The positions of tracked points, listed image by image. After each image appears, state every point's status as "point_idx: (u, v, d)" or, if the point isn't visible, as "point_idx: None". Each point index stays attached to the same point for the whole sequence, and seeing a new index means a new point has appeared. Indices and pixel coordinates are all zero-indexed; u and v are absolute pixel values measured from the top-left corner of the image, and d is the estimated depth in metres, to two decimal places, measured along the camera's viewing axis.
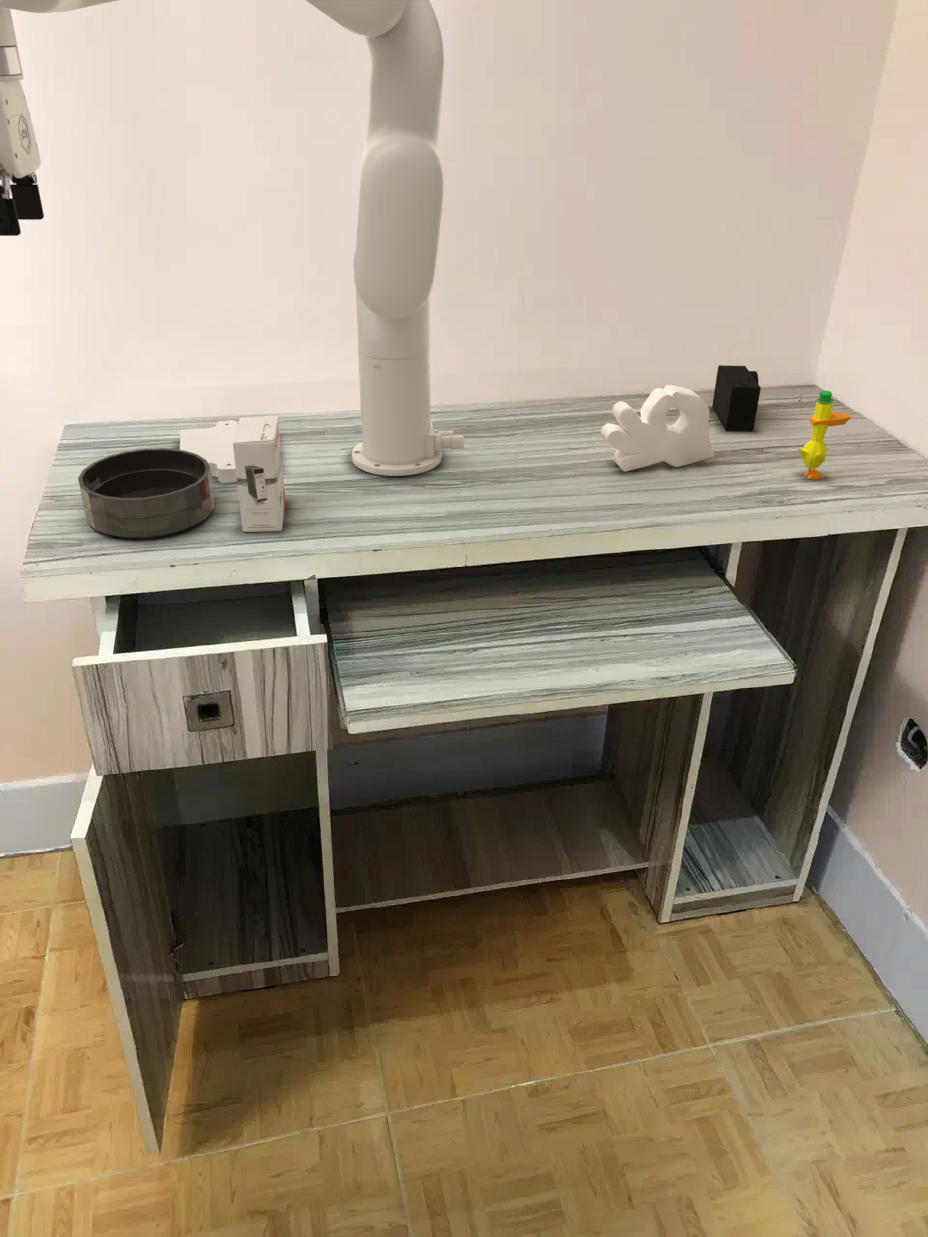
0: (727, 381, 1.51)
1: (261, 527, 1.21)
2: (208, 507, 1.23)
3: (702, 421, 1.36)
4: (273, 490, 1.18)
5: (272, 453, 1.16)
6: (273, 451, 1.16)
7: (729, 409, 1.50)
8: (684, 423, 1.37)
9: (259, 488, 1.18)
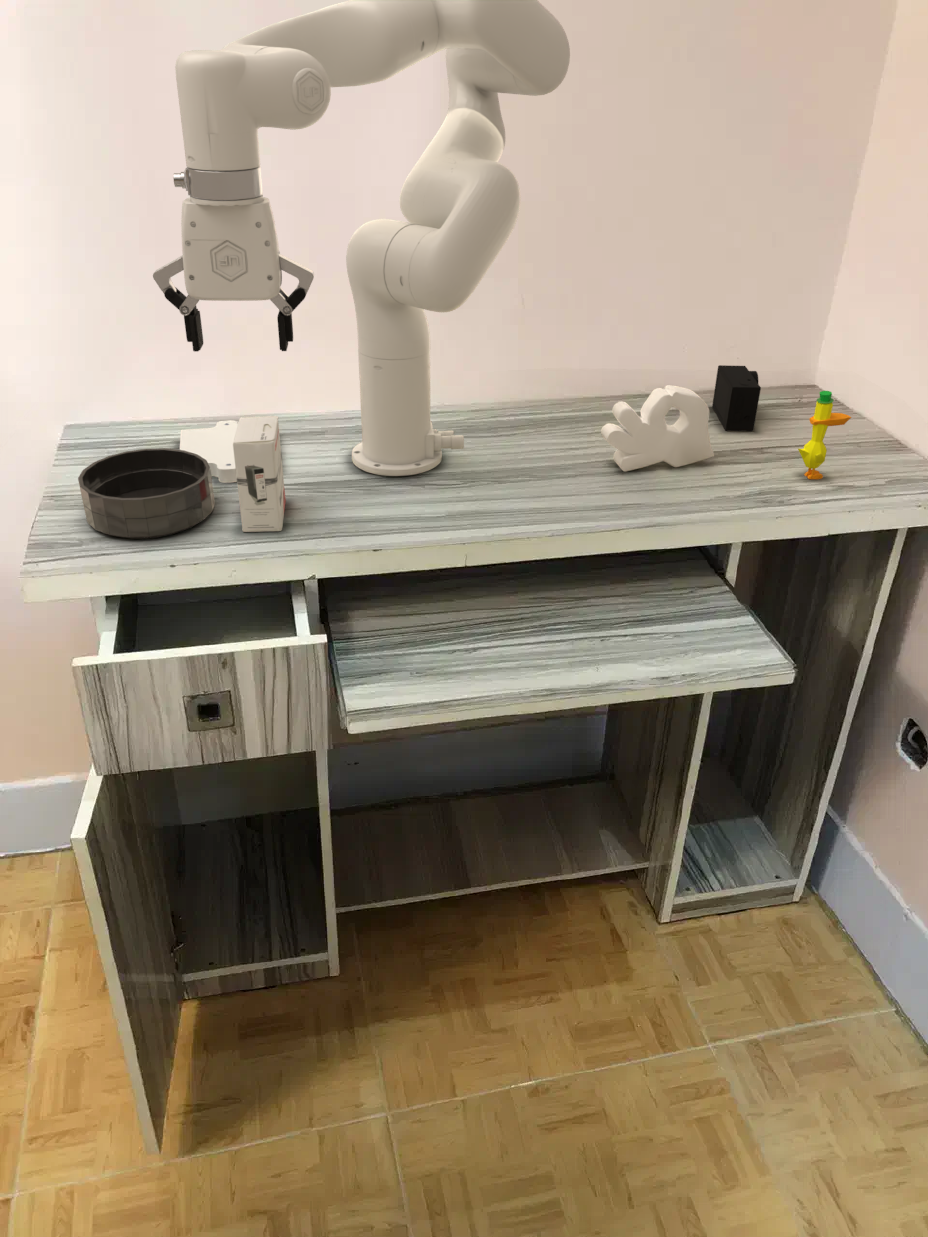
0: (727, 381, 1.51)
1: (261, 527, 1.21)
2: (208, 507, 1.23)
3: (702, 421, 1.36)
4: (273, 490, 1.18)
5: (272, 453, 1.16)
6: (273, 451, 1.16)
7: (729, 409, 1.50)
8: (684, 423, 1.37)
9: (259, 488, 1.18)
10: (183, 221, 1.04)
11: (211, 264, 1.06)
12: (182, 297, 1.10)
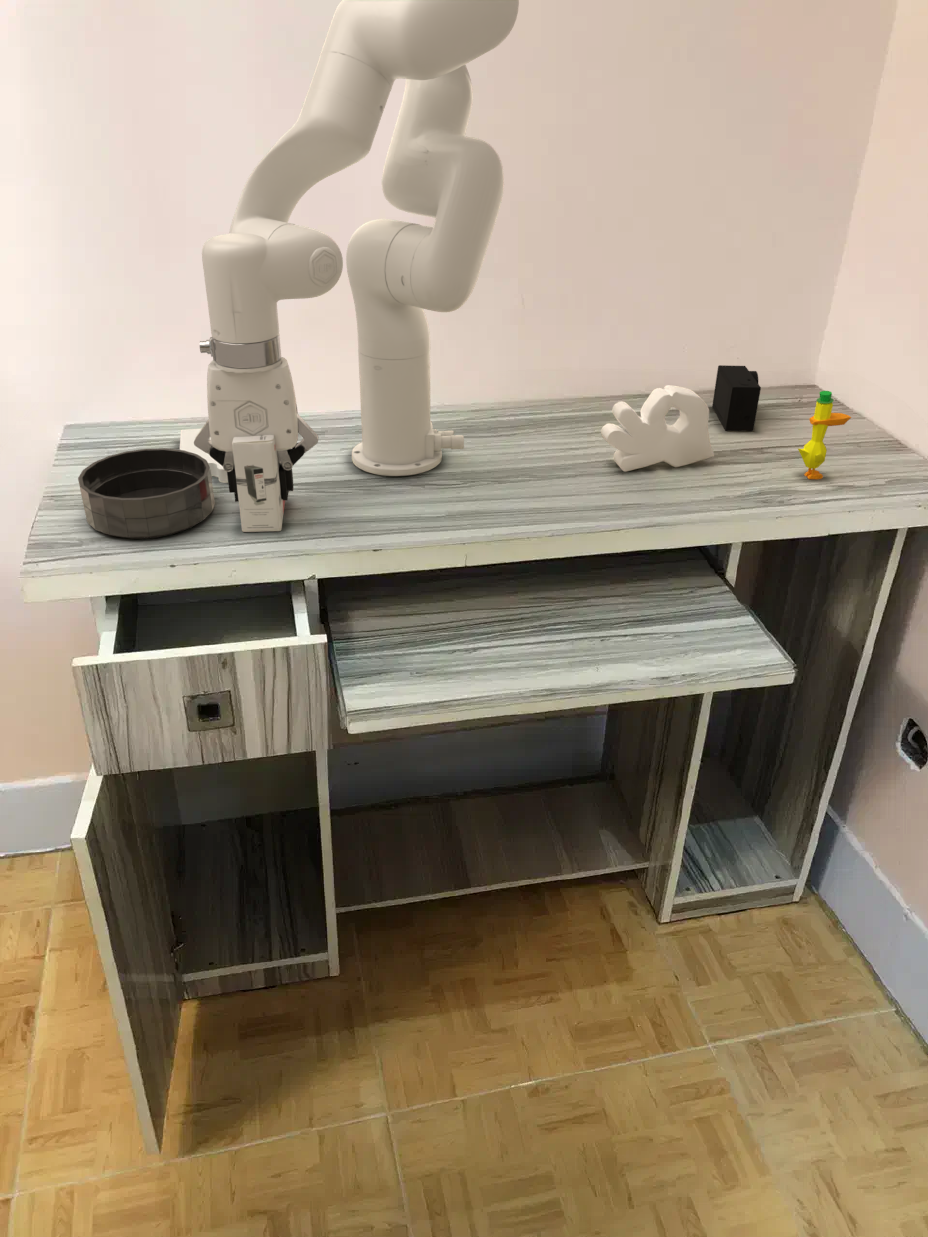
0: (727, 381, 1.51)
1: (261, 527, 1.21)
2: (208, 507, 1.23)
3: (702, 421, 1.36)
4: (272, 490, 1.18)
5: (271, 453, 1.16)
6: (272, 451, 1.16)
7: (729, 409, 1.50)
8: (684, 423, 1.37)
9: (258, 488, 1.18)
10: (209, 384, 1.13)
11: (234, 421, 1.15)
12: None
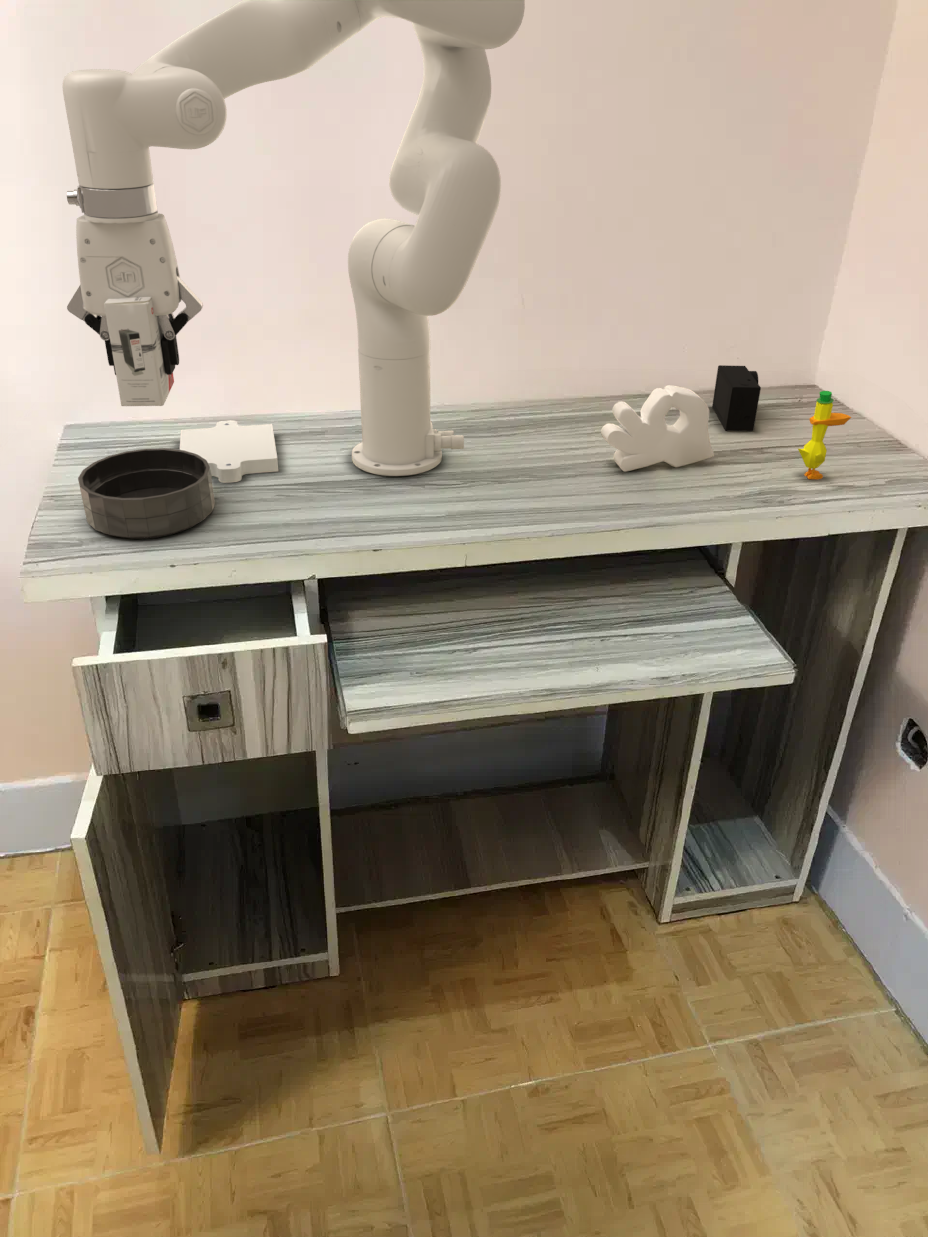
0: (727, 381, 1.51)
1: (141, 401, 1.13)
2: (208, 507, 1.23)
3: (702, 421, 1.36)
4: (151, 358, 1.10)
5: (147, 315, 1.08)
6: (148, 313, 1.08)
7: (729, 409, 1.50)
8: (684, 423, 1.37)
9: (136, 355, 1.10)
10: (77, 238, 1.05)
11: (107, 280, 1.07)
12: None
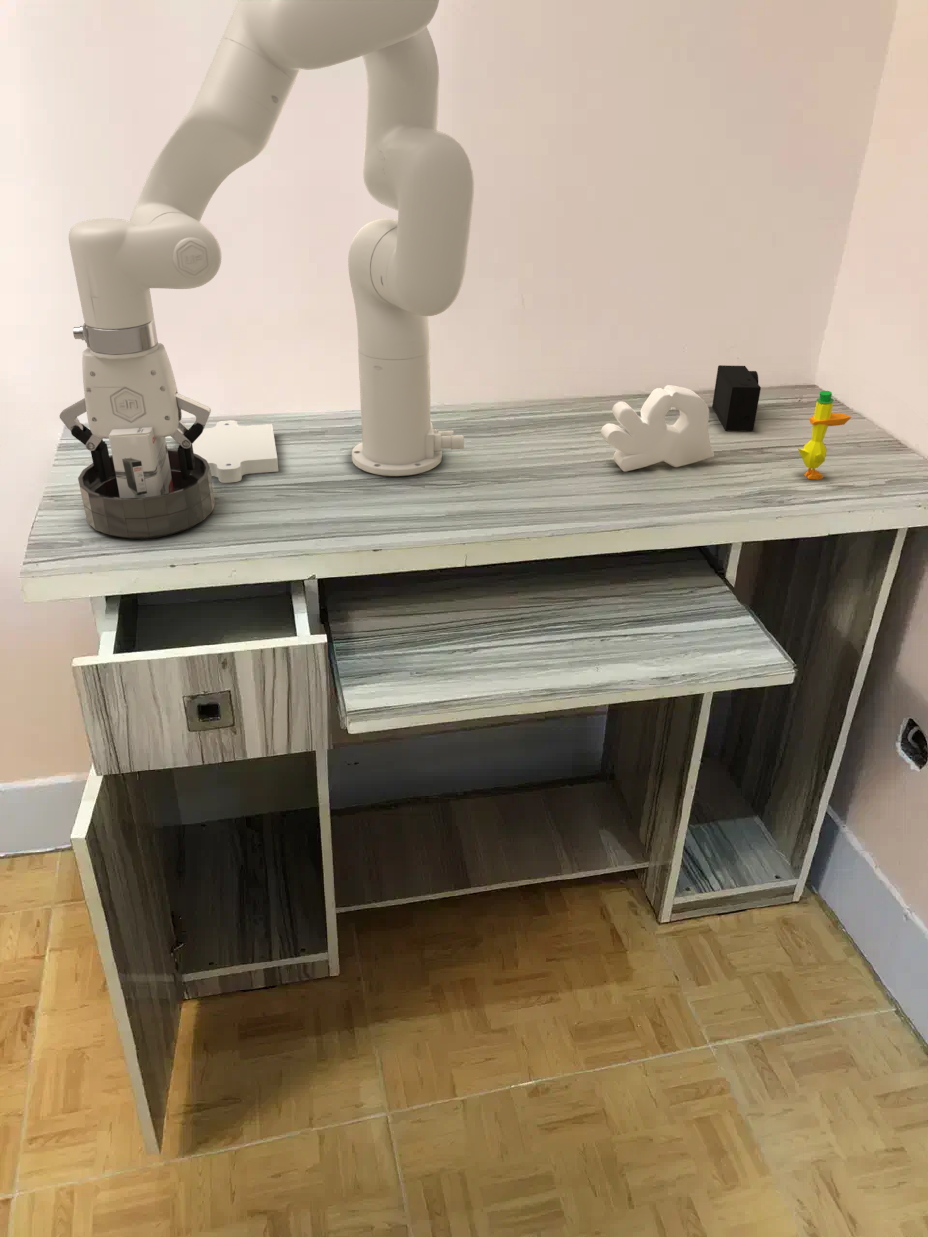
0: (727, 381, 1.51)
1: None
2: (208, 507, 1.23)
3: (702, 421, 1.36)
4: (152, 483, 1.18)
5: (148, 445, 1.16)
6: (150, 444, 1.16)
7: (729, 409, 1.50)
8: (684, 423, 1.37)
9: (138, 480, 1.18)
10: (83, 371, 1.13)
11: (111, 408, 1.15)
12: (88, 433, 1.19)
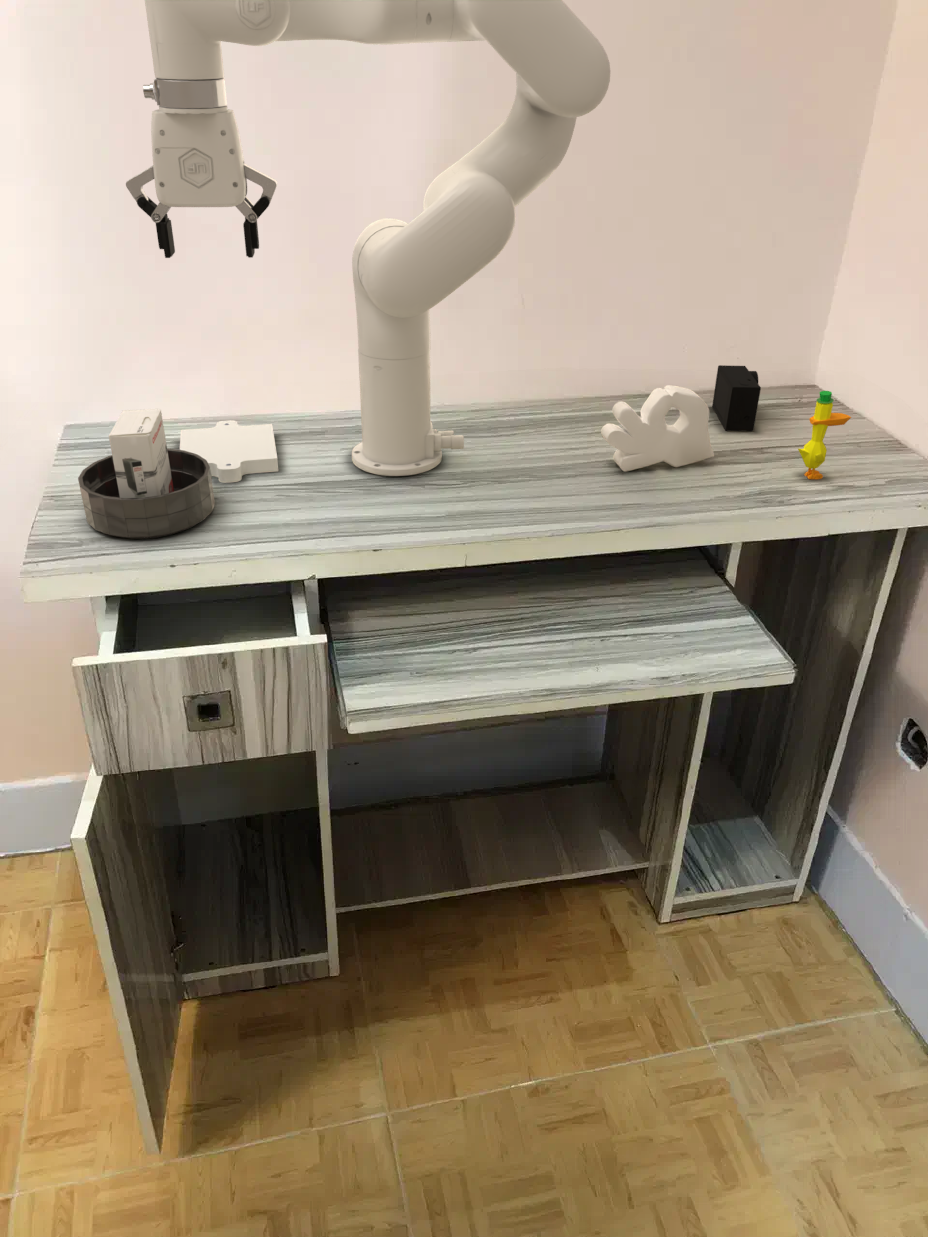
0: (727, 381, 1.51)
1: None
2: (208, 507, 1.23)
3: (702, 421, 1.36)
4: (152, 483, 1.18)
5: (148, 445, 1.16)
6: (150, 444, 1.16)
7: (729, 409, 1.50)
8: (684, 423, 1.37)
9: (138, 480, 1.18)
10: (153, 130, 1.12)
11: (180, 171, 1.14)
12: (154, 205, 1.18)
